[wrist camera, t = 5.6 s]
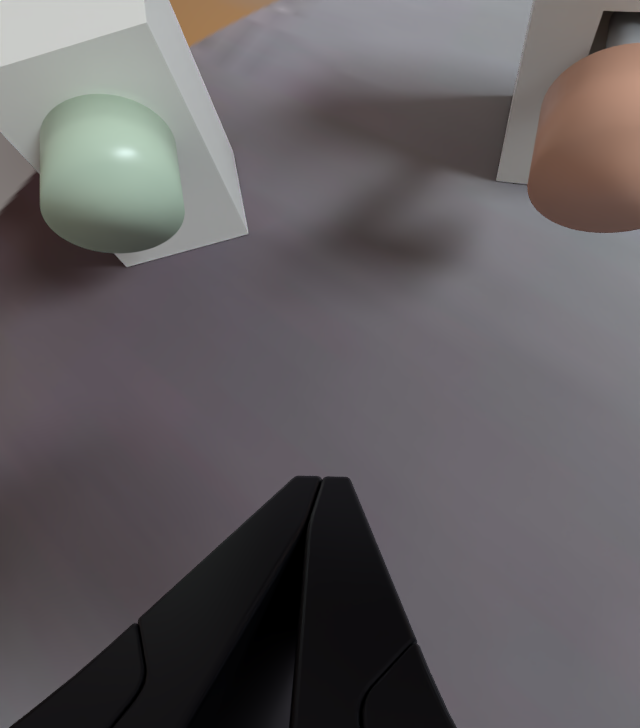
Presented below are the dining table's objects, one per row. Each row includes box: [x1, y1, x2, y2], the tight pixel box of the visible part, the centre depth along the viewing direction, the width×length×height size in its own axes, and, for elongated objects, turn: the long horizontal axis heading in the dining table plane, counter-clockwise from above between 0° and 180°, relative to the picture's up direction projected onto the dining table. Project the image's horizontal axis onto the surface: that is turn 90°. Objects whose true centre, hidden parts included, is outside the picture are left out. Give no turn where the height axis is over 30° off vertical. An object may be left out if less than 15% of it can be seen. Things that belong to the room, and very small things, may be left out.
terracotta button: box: [527, 11, 640, 233], centre depth 16 cm, size 6×4×4 cm
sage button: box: [40, 94, 185, 253], centre depth 19 cm, size 6×4×4 cm
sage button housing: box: [0, 0, 249, 267], centre depth 21 cm, size 5×6×10 cm
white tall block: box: [496, 0, 640, 184], centre depth 19 cm, size 5×6×10 cm
